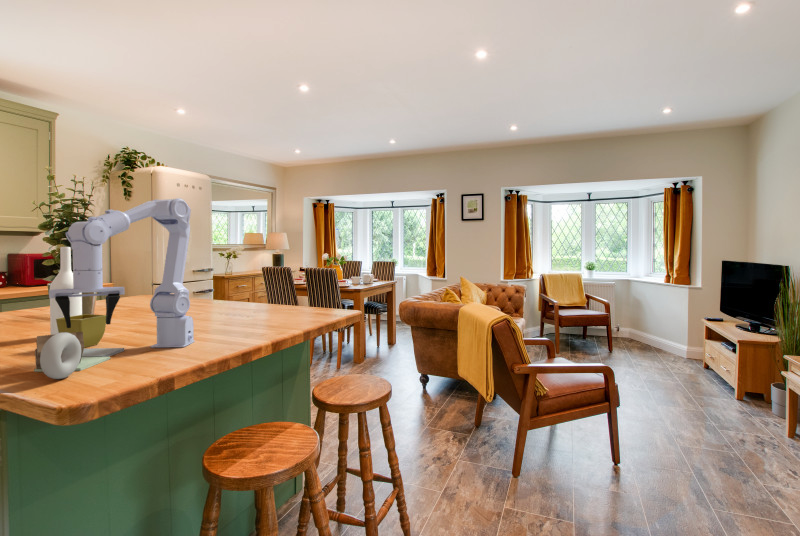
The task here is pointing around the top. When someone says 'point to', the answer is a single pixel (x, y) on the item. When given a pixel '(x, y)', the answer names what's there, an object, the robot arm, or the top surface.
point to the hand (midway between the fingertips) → (88, 325)
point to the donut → (52, 355)
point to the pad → (85, 363)
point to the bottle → (63, 282)
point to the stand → (101, 352)
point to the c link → (43, 339)
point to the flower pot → (85, 327)
